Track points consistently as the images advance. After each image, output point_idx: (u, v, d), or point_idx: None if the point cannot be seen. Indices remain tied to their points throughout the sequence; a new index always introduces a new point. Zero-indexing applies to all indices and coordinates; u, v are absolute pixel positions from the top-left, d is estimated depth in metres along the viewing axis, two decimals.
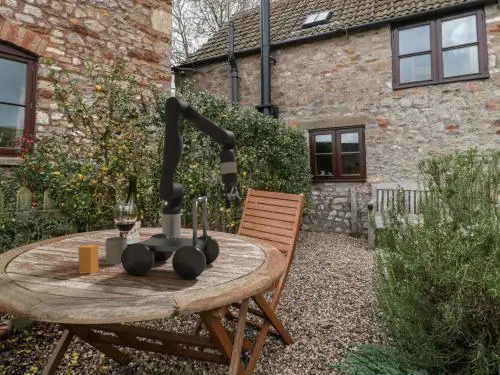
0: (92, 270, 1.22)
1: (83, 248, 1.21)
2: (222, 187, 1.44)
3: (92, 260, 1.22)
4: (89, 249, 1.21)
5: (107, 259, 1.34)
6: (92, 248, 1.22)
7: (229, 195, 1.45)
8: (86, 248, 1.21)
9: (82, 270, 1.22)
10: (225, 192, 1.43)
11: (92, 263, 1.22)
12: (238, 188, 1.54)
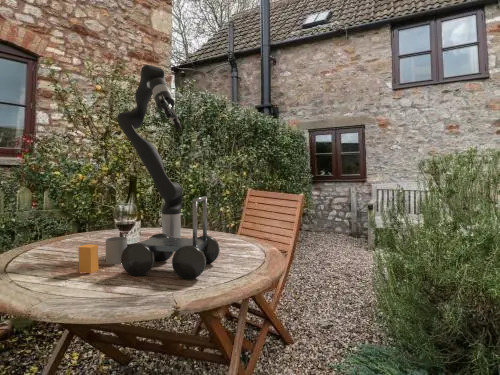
0: (92, 270, 1.22)
1: (83, 248, 1.21)
2: (159, 97, 1.29)
3: (92, 260, 1.22)
4: (89, 249, 1.21)
5: (107, 259, 1.34)
6: (92, 248, 1.22)
7: (168, 106, 1.29)
8: (86, 248, 1.21)
9: (82, 270, 1.22)
10: (163, 99, 1.27)
11: (92, 263, 1.22)
12: None
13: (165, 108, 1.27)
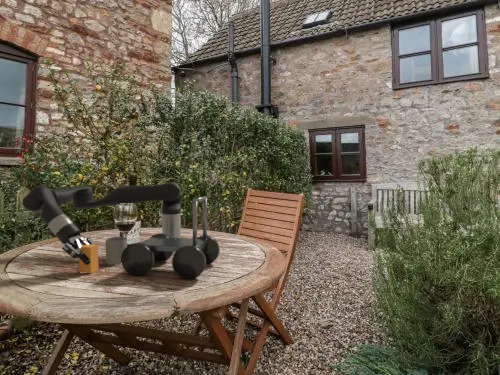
0: (92, 270, 1.22)
1: (83, 248, 1.21)
2: (64, 248, 1.18)
3: (92, 260, 1.22)
4: (89, 249, 1.21)
5: (107, 259, 1.34)
6: (92, 248, 1.22)
7: (80, 250, 1.21)
8: (86, 248, 1.21)
9: (82, 270, 1.22)
10: (72, 250, 1.18)
11: (92, 263, 1.22)
12: (89, 240, 1.29)
13: (80, 257, 1.20)
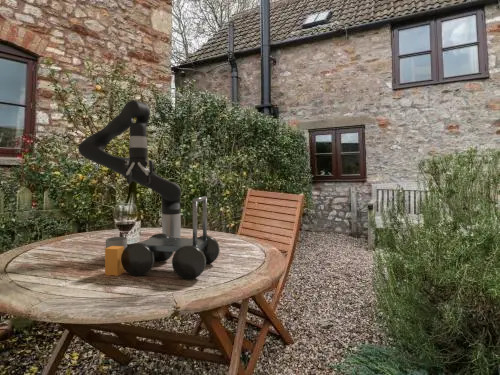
0: (119, 272, 1.20)
1: (110, 250, 1.19)
2: (152, 162, 1.41)
3: (119, 262, 1.20)
4: (116, 251, 1.19)
5: None
6: (119, 250, 1.20)
7: (148, 171, 1.43)
8: (113, 250, 1.19)
9: (108, 272, 1.20)
10: (154, 167, 1.43)
11: (119, 265, 1.20)
12: (127, 164, 1.45)
13: (150, 175, 1.42)
